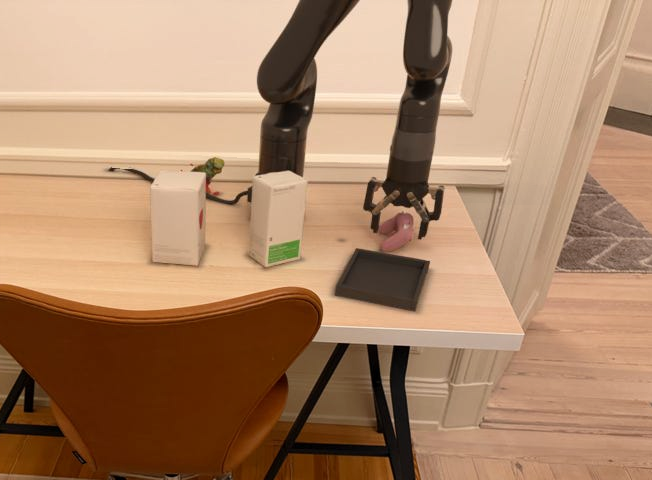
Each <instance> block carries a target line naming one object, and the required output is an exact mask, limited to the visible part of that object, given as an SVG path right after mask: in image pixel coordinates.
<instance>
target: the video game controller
mask: <svg viewBox="0 0 652 480" xmlns="http://www.w3.org/2000/svg"><path fill="white" fill-rule="evenodd" d="M378 232H380V233H381V234H390V233H392V232H393V234H392V235H391V236H389V237H387V238H386V239H384V240H383V241H382V242H381V243H380V244H379V249H380V251H381V252H384V253H387V252H392V251H395V250H397V249H399V248H400V247H402V246H403V245H406V244H407V243H408V242H410V241H412V240H413V239H414V235H413V234H414V232H415V229H414V216H413V215H412V214H411V213H408V212H404V211H403V210H402V211H401V212H398V213H397V214H395V215H394V216H393V217H391V218H389V219H387V220H385V221H384V222H382V223H381V224H379V229H378Z"/></svg>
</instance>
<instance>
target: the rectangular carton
mask: <svg viewBox="0 0 652 480" xmlns="http://www.w3.org/2000/svg"><path fill="white" fill-rule="evenodd" d="M154 179H155V180H154V182H151V184H150V187H149V195H150V198H149V199H150V225H151V227H150V228H151V230H150V231H151V251H152V252H151V257H152V259H151V260H152V263H162V264H163V263H164V264H172V265H173V264H174V265H185V266H197V267H198V265H199V264H200V261H201V258H202V255H203V253H204V251H205V247H206V220H207V219H206V215H207V214H206V211H207V210H206V209H207V208H206V207H207V206H206V205H207V204H206V200H207V198H206V194H207V190H206V173H203V172H190V171H185V170H182V171H181V170H172V169H171V170H169V169H161V170H160V171H159V172H158V173H157V175H156V176H155V177H154Z"/></svg>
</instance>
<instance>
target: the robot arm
mask: <svg viewBox="0 0 652 480" xmlns="http://www.w3.org/2000/svg"><path fill="white" fill-rule="evenodd" d="M360 1H361V0H298V2H297V4H296V7H295V9H294V10H293V13H292V14H291V17H290V18H289V20H288V22H287V23H286V25H285V27H284V28H283V30H282V31H281V33H280V34H279V35H278V37H277V39H276V40H275V42H274V43H273V44H272V46H271V47H270V49H269V50H268V52H267V53H266V54H265V56H264V57H263V59H262V61H261V62H260V64H259V67H258V69H257V73H256V87H257V91H258V95H260V97H261V98H262V99H263V101H265V102H266V103H269V105H268V109H267V111H266V113H265V114H264V116H263V118H262V120H261V122H260V132H259V133H260V134H259V153H258V167H257V172H256V173H255V175H254V176H257V175H264V174H268V173H276V172H283V171H291V172H293V173H295V174H296V175H299V176H301V177H303V178H304V173H305V161H306V151H307V150H306V149H307V140H308V138H307V137H308V131H309V127H310V124H311V122H312V118H313V115H314V107H315V99H316V93H317V92H316V91H317V85H318V84H317V83H318V66H317V62H316V59H315V57H316V55H317V54H318V52H319V51H320V49H321V47H322V46H323V45H324V43H325V42H326V41H327V40H328V38H329V37H330V36H331V35H332V33H334V31H335V30H336V29H337V28H338V27H339V26H340V25H341V24H342V23H343V21H344V20H345V19H346V18H347V17H348V16H349V15H350V14H351V12H352V11H353V10H354V9H355V7H356V6H357V5H358V4H359V3H360ZM406 1H407V2H406V3H407V15H406V22H405V27H404V28H405V29H404V36H403V47H402V63H403V66H404V67H403V68H404V70H405V72H406V74H407V75H406V80H405V87H404V91H403V93H402V95H401V97H400V100H399V104H398V108H397V114H396V121H395V127H394V131H393V134H392V138H391V144H390V146H389V156H388V164H387V170H386V177H385V180H380V179H377V178H376V177H375V176H372V177H371V178H369V181H368V182H367V186H366V190H365V196H364V200H363V206H362V210H363V211H365V212H370V214H371V218H370V219H371V220H370V230H371V231H372V233H373V234H377V233H378V232H379V227H380V223H381V215H382V211H383V210H385V209H386V208H387V207H388V206H389V205H390V204H391V205H392V206H393V207H403V208H405V209H411V208H414V210H415V213H416V214H417V215H419V217H420V220H421V221H420V223H419V228H418V229H419V230H418V235H417V240H420V241H421V240H422V239H423V238H425V237H426V236H427V234H428V230H429V224H430V222H433V221H435V222H438V221H439V220H440V217H441V215H442V210H443V202H444V196H445V195H444V194H445V186H444V185H438V186H437V187H436V186H430V185H429V178H430V171H431V167H432V161H433V156H434V151H435V146H436V138H437V136H436V135H437V126H438V121H439V117H440V116H439V115H440V113H441V112H440V111H441V103H442V96H443V92H444V89H445V85H446V81H447V78H448V75H449V71H450V66H451V62H452V58H453V44H452V40H451V38H450V36H449V35H448V31H449V16H450V15H449V14H450V11H451V8H452V5H453V0H406ZM117 169H118V170H121V169H120V168H112V166H111V167H110V168H109V169H108V172H113V171H114V170H117ZM122 170H123V171H126V172H130V173H133V174H136V175H139V176H141V177H142V178H144V179H146V180H147V181H149V182H151V183H153V182H154V180H155V178H153V177H152V176H150V175H149V174H147V173H145V172H143V171H142V170H138V169H135V168H132V169H122ZM380 188H382V190H383V192H384V194H385V195H384V196H383V197H382V198H381V200H379V201H378V203H376V204H375V203H373V200H374V195H375V193H376V192H378V190H379V189H380ZM428 194H429V195H430V197H431V199H432V200H434V205H433V211H430V210H429V209H428V207H427V204H426V202H425V199H424V198H425V197H426V196H427V195H428ZM245 196H246V197H247V198H246V202H247V203H250V204H251V201H252V185H251V186H249V187H248V188H247V190H244V191H241V192H239V193H238V194H237V195H236V196H235V199H232V200H226V199H222V198H220V197H217V196H215V195H212V194H209V193H206V199H209V200H211V201H214V202H216V203H220V204H225V205H235V204H238V202H240V199H241V198H242V197H245Z"/></svg>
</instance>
